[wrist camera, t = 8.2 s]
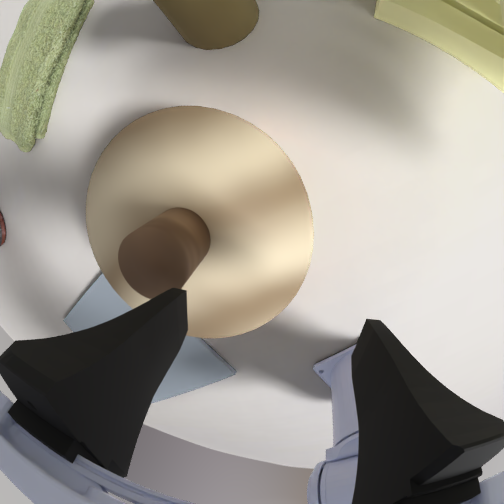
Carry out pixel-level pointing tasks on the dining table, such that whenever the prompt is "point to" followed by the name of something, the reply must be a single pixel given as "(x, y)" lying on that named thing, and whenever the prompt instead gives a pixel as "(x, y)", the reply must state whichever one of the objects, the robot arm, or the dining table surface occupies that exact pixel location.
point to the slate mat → (186, 362)
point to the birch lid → (201, 218)
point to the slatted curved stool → (455, 30)
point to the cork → (211, 20)
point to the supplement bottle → (2, 230)
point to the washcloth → (37, 66)
